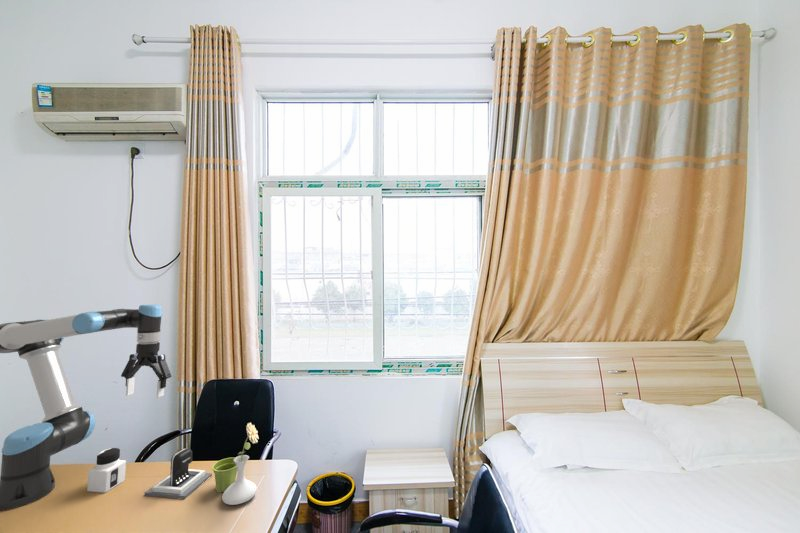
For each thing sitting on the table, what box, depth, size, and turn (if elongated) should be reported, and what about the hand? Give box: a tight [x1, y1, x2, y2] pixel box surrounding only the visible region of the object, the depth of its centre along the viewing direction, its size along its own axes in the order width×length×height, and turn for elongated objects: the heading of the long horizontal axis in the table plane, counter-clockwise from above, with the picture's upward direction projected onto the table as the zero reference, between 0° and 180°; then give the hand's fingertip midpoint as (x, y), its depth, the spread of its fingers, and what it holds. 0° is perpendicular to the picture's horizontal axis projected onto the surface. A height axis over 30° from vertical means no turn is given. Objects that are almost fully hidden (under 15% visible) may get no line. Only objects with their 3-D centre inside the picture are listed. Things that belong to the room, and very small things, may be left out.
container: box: [86, 447, 127, 494], centre depth 121 cm, size 8×8×13 cm
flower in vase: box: [221, 422, 260, 506], centre depth 117 cm, size 13×11×25 cm
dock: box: [144, 468, 213, 500], centre depth 122 cm, size 16×14×2 cm
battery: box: [169, 448, 193, 487], centre depth 123 cm, size 7×4×11 cm, turn 169°
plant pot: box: [211, 457, 237, 493], centre depth 121 cm, size 9×9×9 cm
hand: (145, 395), depth 129 cm, fingers open, 13 cm apart
